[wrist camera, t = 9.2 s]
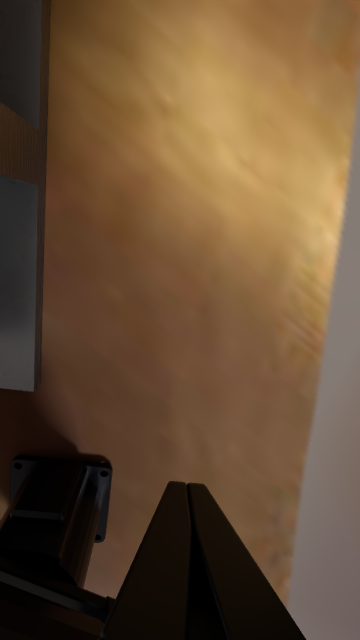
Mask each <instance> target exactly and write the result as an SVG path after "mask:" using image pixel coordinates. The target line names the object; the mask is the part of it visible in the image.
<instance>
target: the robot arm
mask: <svg viewBox="0 0 360 640" xmlns="http://www.w3.org/2000/svg"><path fill="white" fill-rule="evenodd" d="M18 463H20V464H22V465H20V464H18ZM102 471H106V473H104V472H102ZM112 471H113V469H112V467H111V465H109V464H106V463H97V462H87V461H76V460H66V459H56V458H45V457H35V456H24V455H18V456H15V457H14V459H13V460H12V462H11V464H10V505H9V507H8V508H7V510H6V512H5V514H4V515H3V517H2V519H1V521H0V640H306V638H305V637H304V635H303V634H302V632H301V631H300V629H299V628H298V626H297V625H296V623H295V621H294V620H293V619H292V617H291V615H290V614H289V612H288V611H287V609H286V608H285V606H284V605H283V603H282V602H281V600H280V599H279V597H278V596H277V594H276V592H275V591H274V589H273V588H272V586H271V585H270V583H269V582H268V580H267V579H266V577H265V576H264V574H263V573H262V571H261V570H260V568H259V567H258V565H257V563H256V562H255V560H254V559H253V557H252V556H251V554H250V553H249V551H248V550H247V548H246V547H245V545H244V544H243V542H242V541H241V539H240V537H239V536H238V534H237V533H236V531H235V530H234V528H233V527H232V525H231V524H230V522H229V521H228V519H227V518H226V516H225V515H224V513H223V512H222V510H221V508H220V507H219V505H218V504H217V502H216V501H215V499H214V498H213V496H212V495H211V493H210V492H209V490H208V489H207V487H206V486H205V485H204V484H199V483H188V484H187V485H186V483H185V482H178V481H170V482H169V483H168V484H167V486H166V489H165V491H164V493H163V495H162V497H161V500H160V502H159V504H158V506H157V509H156V511H155V513H154V515H153V517H152V520H151V522H150V524H149V526H148V529H147V531H146V533H145V535H144V538H143V540H142V542H141V544H140V546H139V549H138V551H137V553H136V555H135V558H134V560H133V562H132V564H131V566H130V569H129V571H128V573H127V575H126V578H125V580H124V582H123V584H122V586H121V589H120V591H119V593H118V595H117V598H116V599H114V598H111V597H109V596H107V597H106V598H105V597H103V596H100V595H98V594H95V593H93V592H90V591H88V590H85V589H83V587H84V583H85V579H86V574H87V570H88V566H89V562H90V557H91V553H92V549H93V545H94V543H100V542H103V541H104V539H105V535H106V528H107V518H108V509H109V500H110V490H111V481H112Z"/></svg>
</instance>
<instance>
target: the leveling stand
mask: <svg viewBox="0 0 360 640" xmlns="http://www.w3.org/2000/svg"><path fill="white" fill-rule="evenodd" d="M50 1H51V0H0V388H4V389H13V390H22V391H31V392H34V391H35V390H36V388H37V387H38V386H39V385H40V380H41V342H42V305H43V267H44V229H45V191H46V153H47V115H48V77H49V39H50Z"/></svg>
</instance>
